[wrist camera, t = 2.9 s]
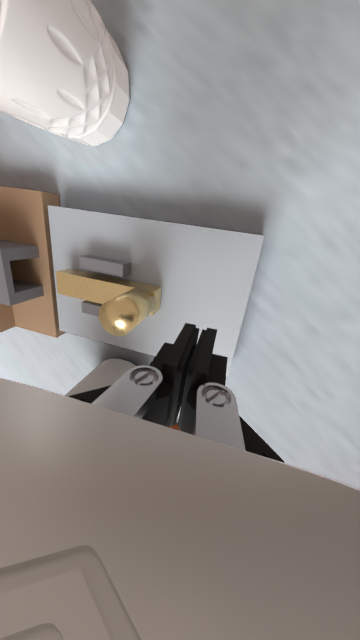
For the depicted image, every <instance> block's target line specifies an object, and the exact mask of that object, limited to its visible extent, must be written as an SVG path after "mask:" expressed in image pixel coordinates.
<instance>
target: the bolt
mask: <svg viewBox="0 0 360 640" xmlns="http://www.w3.org/2000/svg"><path fill="white" fill-rule="evenodd" d="M56 280H57V291H58V294H61V295H65V296H70V297H74V298H78V299H83V300H87V301H91V302H96V303H100V304H102V305H101V307H100V309H99V314H98V315H99V321H100V323H101V325H102V327H103V328H104V329H105V330H106V331H107V332H108V333H110V334H112V335H114V336H124V335H126V334H127V333H129V332H130V331H131V330H132V329H133V328H135V327H136V326H137V325H138V324H139V323H140V322H142V321H143V320H144V319H145V318H146V317H148V316H149V315H151V316H153V315H154V314H155V313H156V312H157V311H158V310H160V300H161V289H162V287H158V286H153V285H148V284H143V283H138V282H133V281H129V280H124V279H119V278H114V277H109V276H104V275H99V274H94V273H89V272H84V271H79V270H75V269H70V268H69V269H64V270H59V271H56Z"/></svg>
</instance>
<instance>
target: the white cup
mask: <svg viewBox="0 0 360 640" xmlns="http://www.w3.org/2000/svg"><path fill="white" fill-rule="evenodd" d="M129 101H130V95H129V77H128V70H127V68H126V65H125V63H124V60H123V58H122V55H121V53H120V51H119V48H118V46H117V44H116V43H115V41H114V40H113V38H112V36H111V35H110V33H109V32H108V30H107V29H106V27H105V26H104V23H103V21H102V19H101V17H100V15H99V13H98V12H97V10H96V8H95V6H94V5H93V3H92V1H91V0H0V111H1V112H4V113H6V114H8V115H10V116H13V117H15V118H17V119H20V120H22V121H24V122H26V123H29V124H31V125H34V126H36V127H39V128H42V129H45V130H47V131H49V132H51V133H54V134H56V135H59V136H62V137H66V138H69V139H71V140H73V141H75V142H77V143H81V144H85V145H90V146H98V145H100V144H103V143H105V142H107V141H110V140H111V139H112V138H113V137H114V135H115V134H116V133H117V131H118V130H119V129H120V127H121V126H122V125H123V123H124V119H125V115H126V112H127V108H128V104H129Z"/></svg>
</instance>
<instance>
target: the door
mask: <svg viewBox="0 0 360 640" xmlns="http://www.w3.org/2000/svg"><path fill="white" fill-rule="evenodd" d="M264 237H265V236H264V235H257V234H250V233H243V232H236V231H229V230H221V229H214V228H207V227H200V226H193V225H186V224H179V223H172V222H164V221H157V220H150V219H143V218H136V217H129V216H122V215H115V214H108V213H100V212H93V211H86V210H79V209H72V208H65V207H60V198H59V195H58V194H53V193H48V192H42V191H35V190H27V189H19V188H11V187H3V186H0V332H3V331H5V330H7V329H10V328H12V327H15V326H17V327H20V328H24V329H27V330H31V331H35V332H38V333H42V334H45V335H49V336H52V337H56V338H57V337H58V336H60V335H62V334H64V333H66V332H67V333H71V334H74V335H78V336H82V337H85V338H89V339H93V340H96V341H100V342H104V343H107V344H111V345H115V346H119V347H122V348H126V349H130V350H133V351H137V352H141V353H144V354H148V355H152V356H156V355H157V353H158V352H159V350H160V349H161V347H162V346H163V344H164V343H165V342H166V343H170V344H174V342H175V340H176V339H177V337H178V335H179V334H180V332H181V330H182V328H183V327H184V325H185V323H189V324H194V325H196V328H199V335H198V340H199V337H200V335H201V332H202V329H204V330H206V329H207V327H208V328H212V329H217V334H216V339H215V343H214V348H213V353H212V354H217V355H221V356H225V357H228V359H227V369H226V376H228V375H229V371H230V367H231V364H232V360H233V356H234V352H235V348H236V344H237V341H238V337H239V333H240V329H241V325H242V321H243V318H244V314H245V310H246V306H247V302H248V298H249V295H250V291H251V287H252V283H253V279H254V275H255V271H256V268H257V264H258V260H259V256H260V252H261V248H262V245H263V241H264ZM69 268H70V269H75V270H79V271H84V272H89V273H94V274H99V275H104V276H109V277H114V278H119V279H124V280H129V281H133V282H138V283H143V284H148V285H153V286H158V287H162V289H161V300H160V310H158V311H157V312H156V313H155V314H154V315H153V316H151V315H149V316H148V317H146V318H145V319H144V320H143V321H142V322H140V323H139V324H138V325H137V326H136V327H135V328H133V329H132V330H131V331H130V332H129V333H127V334H126V335H124V336H114V335H112V334H110V333H108V332H107V331H106V330H105V329H104V328H103V327H102V325H101V323H100V321H99V315H98V314H99V309H100V307H101V305H102V304H100V303H96V302H91V301H87V300H83V299H78V298H74V297H70V296H65V295H61V294H58V291H57V280H56V271H59V270H64V269H69ZM198 340H197V343H198Z"/></svg>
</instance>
